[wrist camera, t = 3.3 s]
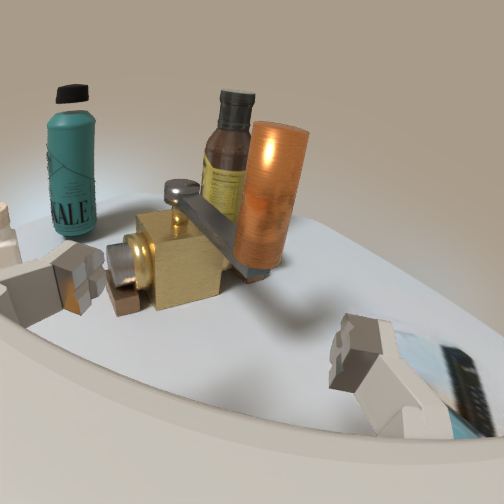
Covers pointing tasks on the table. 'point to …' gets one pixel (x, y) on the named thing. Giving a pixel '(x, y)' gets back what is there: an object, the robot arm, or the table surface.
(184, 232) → the ball valve
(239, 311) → the table surface
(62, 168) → the beverage bottle
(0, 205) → the pepper shaker
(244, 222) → the crank handle
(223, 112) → the sauce bottle
